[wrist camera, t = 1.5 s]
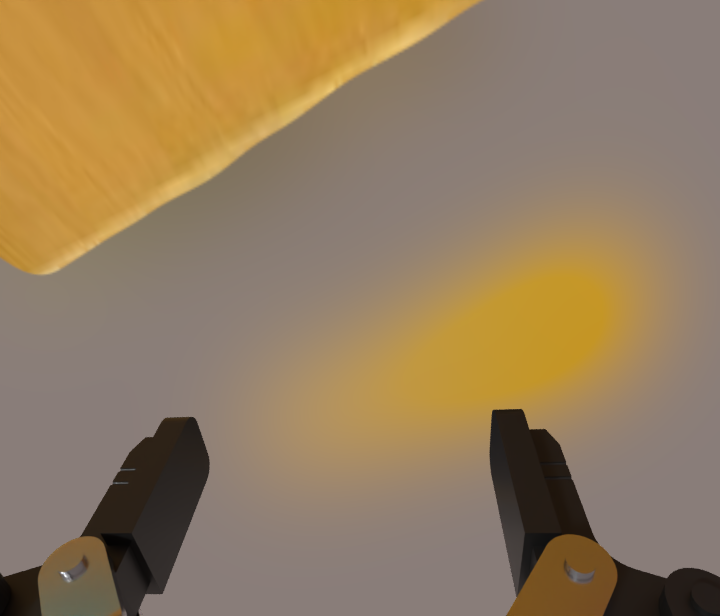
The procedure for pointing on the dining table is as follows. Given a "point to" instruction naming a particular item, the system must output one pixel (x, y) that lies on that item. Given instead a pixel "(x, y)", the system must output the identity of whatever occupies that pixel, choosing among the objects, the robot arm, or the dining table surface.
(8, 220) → the dining table surface
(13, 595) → the robot arm
